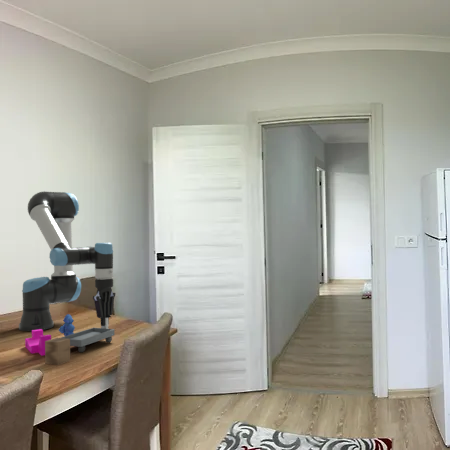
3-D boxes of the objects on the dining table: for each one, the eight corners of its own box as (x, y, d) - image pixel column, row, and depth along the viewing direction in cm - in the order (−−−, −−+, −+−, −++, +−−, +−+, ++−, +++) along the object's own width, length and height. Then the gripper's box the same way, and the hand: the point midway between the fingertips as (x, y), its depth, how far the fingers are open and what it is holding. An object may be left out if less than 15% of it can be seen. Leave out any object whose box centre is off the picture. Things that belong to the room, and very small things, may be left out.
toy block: (25, 349, 186) (25, 331, 186) (41, 347, 190) (41, 329, 190) (34, 357, 174) (34, 337, 174) (51, 354, 178) (51, 335, 178)
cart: (58, 351, 180) (58, 338, 181) (93, 339, 200) (93, 327, 200) (81, 353, 176) (81, 340, 176) (114, 341, 196) (114, 329, 196)
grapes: (55, 341, 199) (55, 313, 199) (72, 339, 202) (71, 312, 202) (61, 347, 189) (60, 317, 189) (78, 344, 192) (77, 316, 192)
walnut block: (45, 363, 165) (45, 341, 165) (57, 359, 171) (57, 337, 171) (58, 365, 163) (58, 342, 163) (70, 360, 168) (69, 338, 168)
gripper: (101, 280, 191) (102, 336, 191) (120, 277, 203) (121, 330, 203) (87, 279, 194) (87, 335, 194) (106, 276, 206) (107, 329, 206)
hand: (104, 332), depth 198 cm, fingers closed
